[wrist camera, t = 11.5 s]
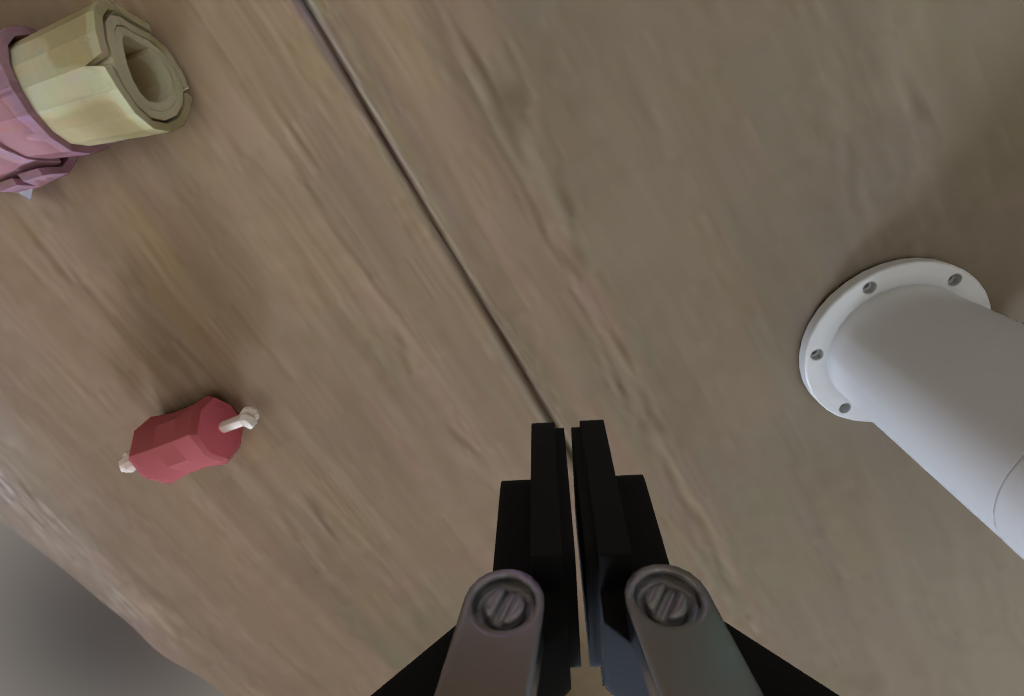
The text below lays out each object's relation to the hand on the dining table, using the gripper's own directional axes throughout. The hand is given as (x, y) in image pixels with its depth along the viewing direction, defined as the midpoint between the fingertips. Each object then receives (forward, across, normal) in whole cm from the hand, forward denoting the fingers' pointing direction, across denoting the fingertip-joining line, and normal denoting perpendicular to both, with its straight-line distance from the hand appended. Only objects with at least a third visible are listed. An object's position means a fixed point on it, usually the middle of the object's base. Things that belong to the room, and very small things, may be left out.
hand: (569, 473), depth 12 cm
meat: (+24, +28, +12) cm, 39 cm away
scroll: (+24, +30, -9) cm, 40 cm away
